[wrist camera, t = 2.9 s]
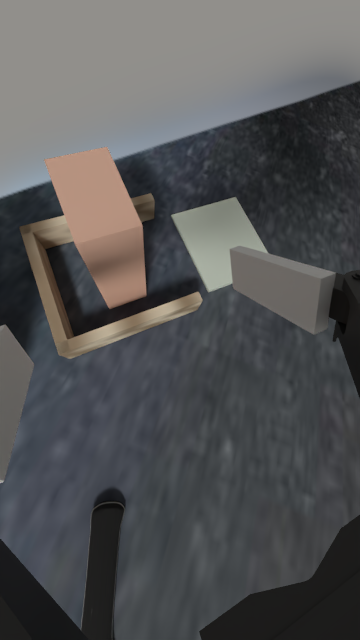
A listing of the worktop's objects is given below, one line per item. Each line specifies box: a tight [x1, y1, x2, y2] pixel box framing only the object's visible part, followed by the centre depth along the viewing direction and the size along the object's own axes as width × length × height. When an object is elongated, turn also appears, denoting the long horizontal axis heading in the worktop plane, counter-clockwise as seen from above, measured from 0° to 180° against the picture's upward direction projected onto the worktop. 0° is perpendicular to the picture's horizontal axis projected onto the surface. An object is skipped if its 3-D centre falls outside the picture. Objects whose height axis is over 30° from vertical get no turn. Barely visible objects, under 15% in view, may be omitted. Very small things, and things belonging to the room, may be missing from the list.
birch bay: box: [19, 193, 202, 359], centre depth 29 cm, size 17×16×4 cm
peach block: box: [44, 147, 147, 309], centre depth 24 cm, size 5×8×14 cm, turn 23°
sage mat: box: [171, 197, 268, 293], centre depth 34 cm, size 11×13×1 cm
